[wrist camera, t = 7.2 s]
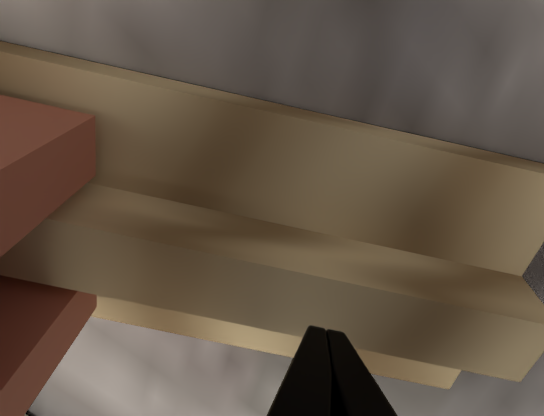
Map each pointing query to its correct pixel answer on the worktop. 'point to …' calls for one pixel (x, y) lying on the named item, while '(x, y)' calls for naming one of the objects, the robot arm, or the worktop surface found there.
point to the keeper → (24, 218)
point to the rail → (287, 226)
